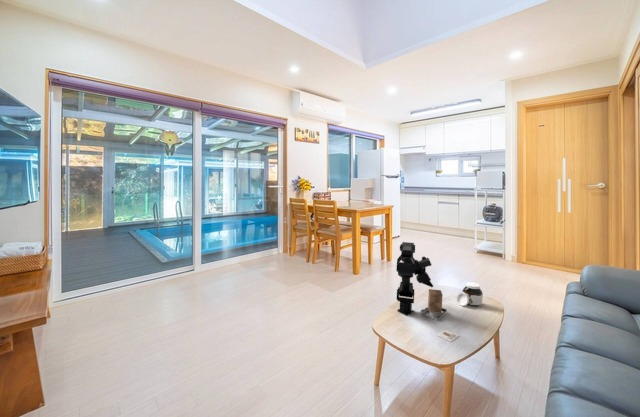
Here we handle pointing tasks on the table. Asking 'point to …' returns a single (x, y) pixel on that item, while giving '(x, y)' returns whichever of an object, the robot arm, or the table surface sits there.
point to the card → (448, 335)
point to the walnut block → (435, 301)
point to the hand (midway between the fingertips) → (431, 283)
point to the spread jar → (470, 295)
